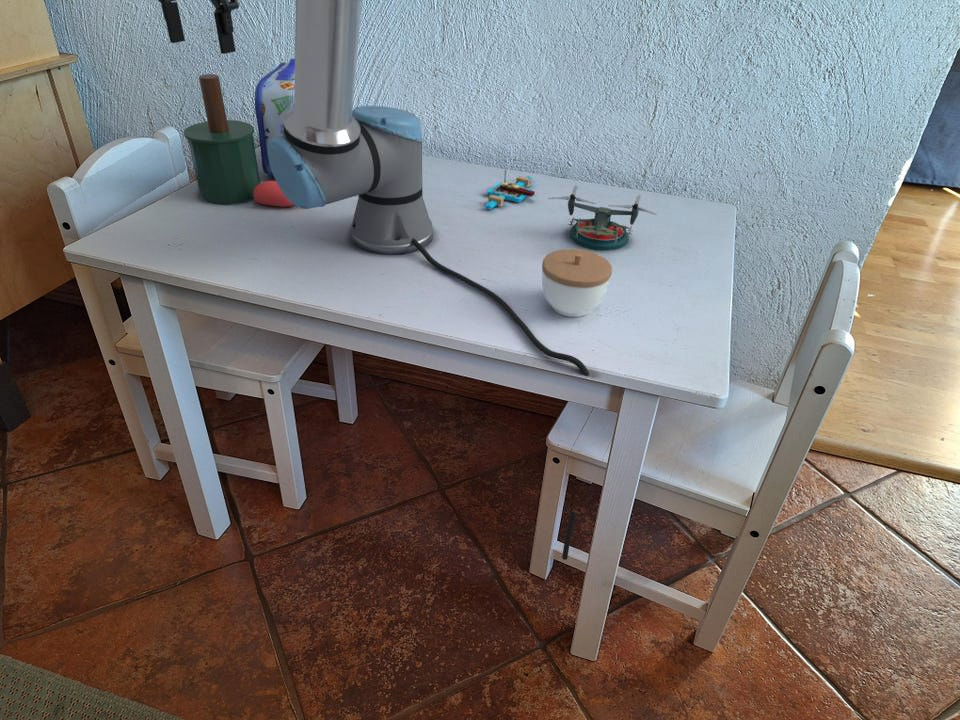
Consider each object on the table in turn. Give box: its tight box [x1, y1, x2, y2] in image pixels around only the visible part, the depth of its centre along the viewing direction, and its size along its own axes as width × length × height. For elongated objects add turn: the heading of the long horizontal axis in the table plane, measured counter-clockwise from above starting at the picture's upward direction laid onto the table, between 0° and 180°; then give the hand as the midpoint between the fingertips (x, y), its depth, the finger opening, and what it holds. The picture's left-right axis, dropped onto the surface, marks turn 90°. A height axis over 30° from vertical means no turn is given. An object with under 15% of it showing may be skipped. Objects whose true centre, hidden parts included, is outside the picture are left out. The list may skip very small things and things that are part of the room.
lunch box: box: [254, 57, 295, 177], centre depth 146 cm, size 28×10×22 cm, turn 1°
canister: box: [187, 133, 262, 205], centre depth 134 cm, size 12×12×12 cm
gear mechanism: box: [485, 168, 536, 210], centre depth 140 cm, size 20×5×9 cm
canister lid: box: [183, 73, 255, 144], centre depth 127 cm, size 13×13×11 cm
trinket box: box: [541, 248, 613, 318], centre depth 103 cm, size 11×11×9 cm
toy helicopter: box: [547, 185, 659, 251], centre depth 123 cm, size 20×15×8 cm
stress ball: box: [253, 180, 295, 208], centre depth 132 cm, size 5×9×6 cm, turn 72°
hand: (202, 47), depth 121 cm, fingers open, 13 cm apart
